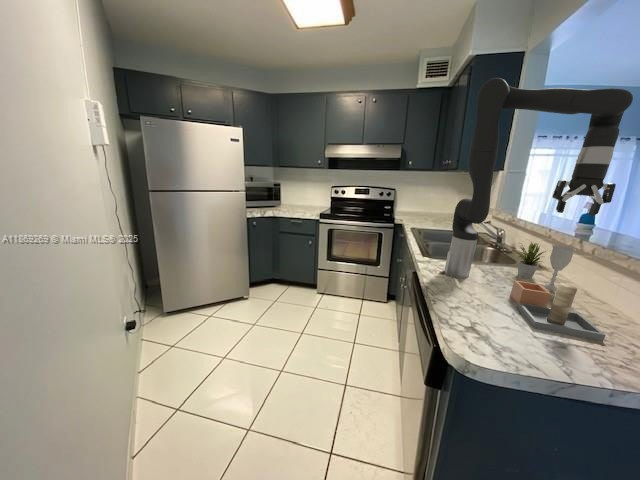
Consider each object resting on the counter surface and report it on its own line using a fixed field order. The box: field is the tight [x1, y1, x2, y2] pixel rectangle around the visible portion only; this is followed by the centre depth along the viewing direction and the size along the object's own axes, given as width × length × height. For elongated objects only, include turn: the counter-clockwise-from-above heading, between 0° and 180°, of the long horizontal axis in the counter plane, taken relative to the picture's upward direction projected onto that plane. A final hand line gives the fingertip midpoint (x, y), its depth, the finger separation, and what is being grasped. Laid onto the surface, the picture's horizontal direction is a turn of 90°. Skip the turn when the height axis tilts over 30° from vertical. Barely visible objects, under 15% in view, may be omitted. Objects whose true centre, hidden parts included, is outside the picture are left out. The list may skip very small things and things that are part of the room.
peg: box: [547, 282, 578, 326], centre depth 76 cm, size 4×4×12 cm
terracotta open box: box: [509, 279, 551, 307], centre depth 88 cm, size 8×8×7 cm
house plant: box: [513, 241, 547, 279], centre depth 115 cm, size 14×14×16 cm
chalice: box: [543, 244, 577, 292], centre depth 100 cm, size 7×7×18 cm
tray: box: [516, 302, 606, 342], centre depth 77 cm, size 16×12×3 cm
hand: (575, 213), depth 85 cm, fingers open, 8 cm apart
